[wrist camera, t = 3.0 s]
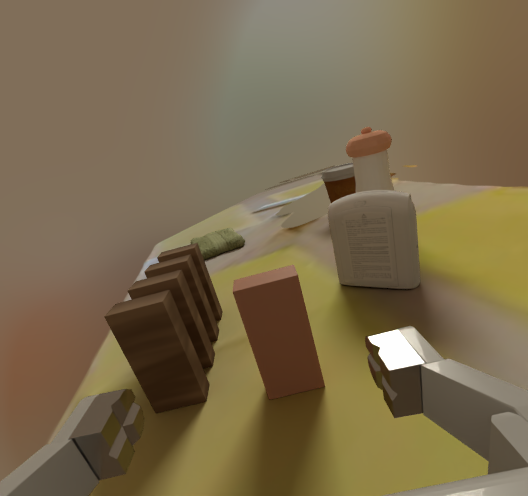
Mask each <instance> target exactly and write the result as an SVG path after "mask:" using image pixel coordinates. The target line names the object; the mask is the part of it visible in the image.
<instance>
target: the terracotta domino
mask: <svg viewBox="0 0 528 496" xmlns="http://www.w3.org/2000/svg"><path fill="white" fill-rule="evenodd" d="M233 294H234V297H235V300H236V303H237V306H238V309H239V312H240V315H241V318H242V321H243V324H244V327H245V330H246V333H247V336H248V339H249V342H250V345H251V347H252V350H253V353H254V356H255V359H256V362H257V365H258V368H259V371H260V374H261V377H262V380H263V383H264V386H265V389H266V392H267V395H268V398H269V400H271V399H275V398H279V397H284V396H288V395H292V394H296V393H300V392H304V391H309V390H313V389H317V388H321V387H325V385H324V380H323V376H322V372H321V368H320V364H319V360H318V356H317V352H316V348H315V344H314V340H313V336H312V331H311V327H310V323H309V319H308V315H307V311H306V307H305V303H304V299H303V295H302V291H301V286H300V282H299V278H298V274H297V272H296V269H295V267H294V265H291V266H287V267H283V268H279V269H275V270H272V271H268V272H264V273H260V274H256V275H252V276H248V277H245V278H241V279H237V280H234V285H233Z"/></svg>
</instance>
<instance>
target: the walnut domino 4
mask: <svg viewBox="0 0 528 496" xmlns="http://www.w3.org/2000/svg"><path fill="white" fill-rule="evenodd" d="M105 319H106V321H107V323H108V325H109V326H110V328H111V330H112V332H113V334H114V336H115V338H116V340H117V342H118V343H119V345H120V347H121V349H122V351H123V353H124V355H125V357H126V358H127V360H128V362H129V364H130V366H131V368H132V370H133V372H134V374H135V375H136V377H137V379H138V381H139V383H140V385H141V387H142V389H143V390H144V392H145V394H146V396H147V398H148V400H149V402H150V404H151V406H152V407H153V409H154V411H155V413H160V412H164V411H168V410H172V409H176V408H181V407H185V406H189V405H193V404H197V403H201V402H205V401H207V396H208V390H209V382H208V380H207V377H206V375H205V372H204V370H203V368H202V365H201V363H200V361H199V358H198V356H197V354H196V351H195V349H194V346H193V344H192V342H191V339H190V337H189V335H188V332H187V330H186V328H185V325H184V323H183V321H182V318H181V316H180V313H179V311H178V309H177V306H176V304H175V302H174V299H173V297H172V295H171V292H170V290H167V291H163V292H159V293H156V294H152V295H148V296H144V297H140V298H137V299H133V300H129V301H125V302H121V303H118V304H115V305H114V306H113V307H112V309H111V310H110V311H109V312H108V313H107V314H106V315H105Z"/></svg>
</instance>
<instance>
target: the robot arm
mask: <svg viewBox="0 0 528 496" xmlns="http://www.w3.org/2000/svg"><path fill="white" fill-rule="evenodd" d="M365 342H366V347H367V349H368V351H369V352H370V354H369V356H368V363H369V368H370V371H371V374H372V377H373V379H374V381H375V383H376V385H377V387H378V388H380V389H381V390H383V396H384V400H385V402H386V404H387V406H388V407H389V409H390V411H391V413H392V415H393V417H394V418H398V417H403V416H409V415H415V414H420V413H423V415H425V416H426V417H428V418H429V419H430V420H432V421H433V422H435V423H436V424H437V425H439V426H440V427H441V428H443V429H444V430H446V431H447V432H448V433H450V434H451V435H453V436H454V437H455V438H457V439H458V440H460V441H461V442H462V443H464V444H465V445H467V446H468V447H469V448H471V449H472V450H474V451H475V452H476V453H478V454H479V455H481V456H482V457H483V458H485V459H486V460H487V461H489V465H488V475H484V476H479V477H474V478H469V479H464V480H459V481H454V482H449V483H444V484H439V485H434V486H428V487H423V488H418V489H413V490H408V491H403V492H398V493H393V494H388V495H383V496H528V390H525V389H523V388H520V387H518V386H516V385H513V384H511V383H508V382H506V381H503V380H501V379H498V378H496V377H493V376H491V375H489V374H486V373H484V372H481V371H479V370H476V369H474V368H471V367H469V366H466V365H464V364H462V363H459V362H457V361H454V360H452V359H443V358H442V356H441V355H440V354H439V353H438V352H437V351H436V350H435V349H434V348H433V347H432V346H431V345H430V344H429V343H428V342H427V341H426V340H425V339H424V337H423V336H422V335H421V334H420V333H419V332H418V331H417V330H416V329H415V328H414V327H412V326H407V327H403V328H399V329H396V330H392V331H388V332H383V333H379V334H374V335H370V336H366V338H365ZM134 400H135V395H134V393H133V392H132V390H131V389H123V390H118V391H113V392H108V393H102V394H99V395H94V396H88V397H85V398H84V399H82V400H81V401H80V402H79V404H78V405H77V407H76V408H75V410H74V411H73V412H72V414H71V415H70V417H69V418H68V420H67V421H66V422H65V424H64V425H63V427H62V428H61V430H60V431H59V432H58V434H57V435H56V437H55V438H54V440H53V441H52V442H51V444H47V445H45V446H44V447H42V448H41V449H40V450H39V451H38V452H36V453H35V454H34V455H33V456H31V457H30V458H29V459H28V460H27V461H25V462H24V463H23V464H22V465H21V466H19V467H18V468H17V469H15V470H14V471H13V472H12V473H11V474H9V475H8V476H7V477H6V478H4V479H3V480H2V481H1V482H0V496H88V495H89V494H90V493H91V492H92V490H93V489H94V488H95V487H96V485H97V484H98V483H99V480H102V479H107V478H111V477H115V476H119V475H123V474H126V472H127V470H128V467H129V465H130V462H131V460H132V457H133V455H134V452H135V451H134V448H133V445H134V444H135V443H136V442H137V440H138V439H139V438H140V437H141V434H142V431H143V428H144V414H143V411H142V409H141V407H140V406H139V405H137V404H135V403H134Z"/></svg>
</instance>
